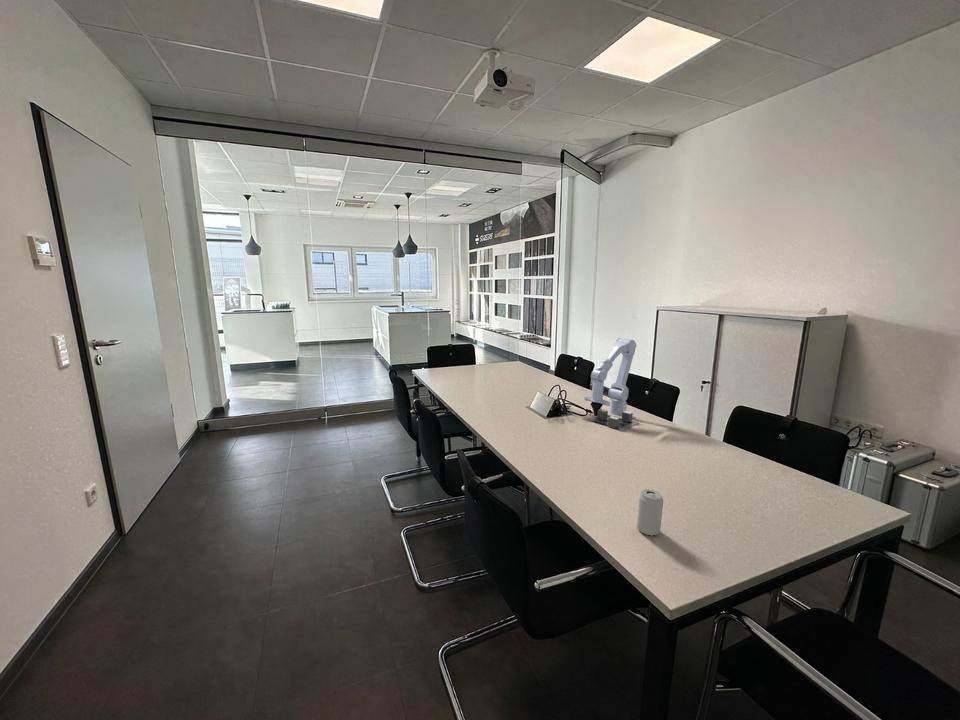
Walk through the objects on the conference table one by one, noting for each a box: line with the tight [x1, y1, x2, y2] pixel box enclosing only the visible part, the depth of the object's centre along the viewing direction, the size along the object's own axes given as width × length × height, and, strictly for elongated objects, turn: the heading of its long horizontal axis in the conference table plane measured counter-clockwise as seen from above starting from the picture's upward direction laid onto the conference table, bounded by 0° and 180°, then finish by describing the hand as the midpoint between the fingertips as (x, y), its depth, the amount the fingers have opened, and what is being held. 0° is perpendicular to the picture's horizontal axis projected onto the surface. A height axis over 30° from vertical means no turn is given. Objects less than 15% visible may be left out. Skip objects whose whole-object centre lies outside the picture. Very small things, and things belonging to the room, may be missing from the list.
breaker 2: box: [621, 410, 634, 422], centre depth 211 cm, size 4×4×5 cm
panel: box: [581, 414, 640, 432], centre depth 212 cm, size 18×24×2 cm
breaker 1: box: [608, 415, 621, 429], centre depth 202 cm, size 4×4×5 cm
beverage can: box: [636, 488, 664, 537], centre depth 117 cm, size 6×6×12 cm
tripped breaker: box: [597, 408, 609, 420], centre depth 214 cm, size 4×4×5 cm
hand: (596, 415), depth 217 cm, fingers closed
